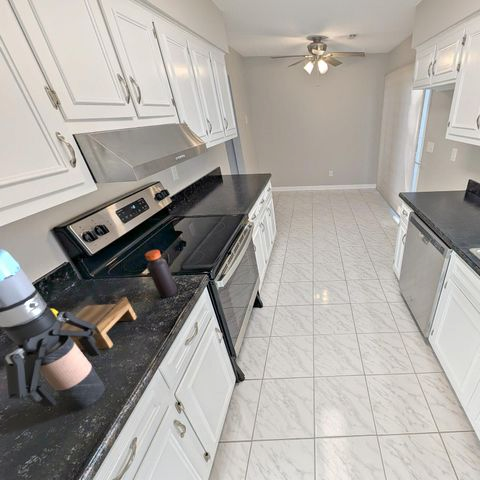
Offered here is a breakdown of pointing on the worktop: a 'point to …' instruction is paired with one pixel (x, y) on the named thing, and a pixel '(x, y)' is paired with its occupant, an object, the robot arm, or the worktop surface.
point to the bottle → (160, 274)
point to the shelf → (102, 321)
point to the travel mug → (71, 373)
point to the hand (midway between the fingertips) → (75, 377)
